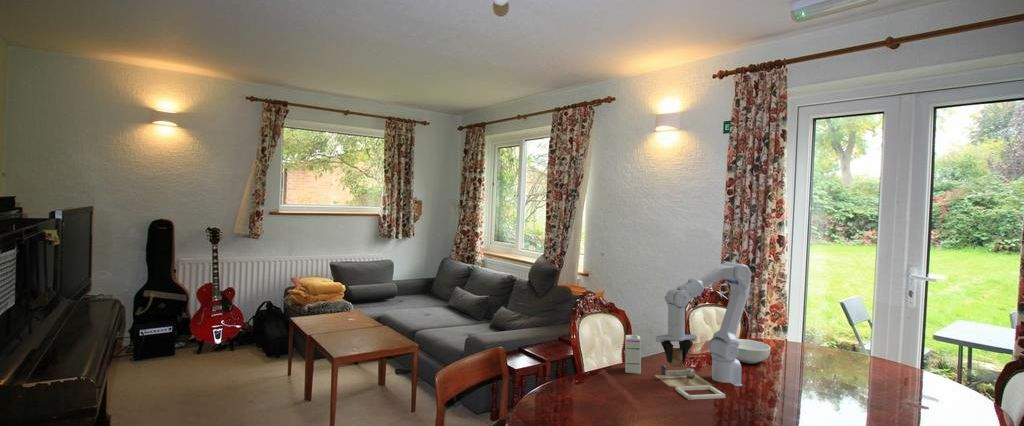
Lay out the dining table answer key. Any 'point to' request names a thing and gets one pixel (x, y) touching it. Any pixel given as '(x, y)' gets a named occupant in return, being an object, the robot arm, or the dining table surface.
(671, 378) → the crank board
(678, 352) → the cylinder
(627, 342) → the syrup box
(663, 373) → the crank lever
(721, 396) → the tray
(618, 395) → the dining table surface
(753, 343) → the cereal bowl
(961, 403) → the dining table surface
